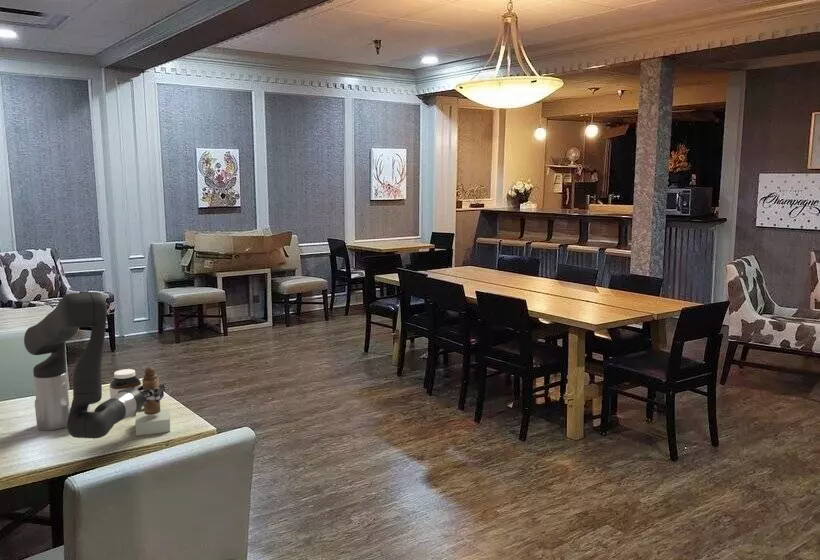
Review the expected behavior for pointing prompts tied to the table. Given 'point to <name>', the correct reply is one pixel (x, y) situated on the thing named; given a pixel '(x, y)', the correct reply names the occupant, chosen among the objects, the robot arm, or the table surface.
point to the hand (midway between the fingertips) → (155, 386)
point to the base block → (152, 422)
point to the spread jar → (123, 381)
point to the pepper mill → (152, 382)
